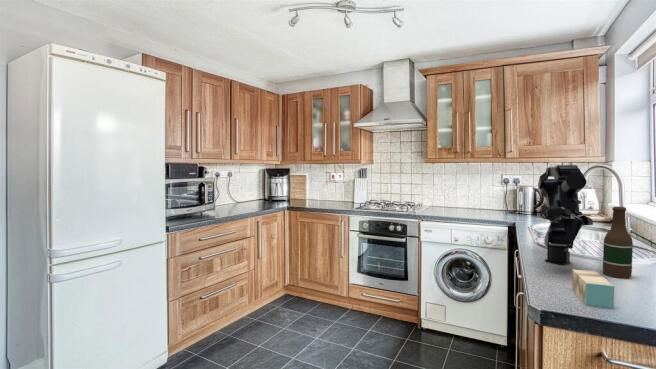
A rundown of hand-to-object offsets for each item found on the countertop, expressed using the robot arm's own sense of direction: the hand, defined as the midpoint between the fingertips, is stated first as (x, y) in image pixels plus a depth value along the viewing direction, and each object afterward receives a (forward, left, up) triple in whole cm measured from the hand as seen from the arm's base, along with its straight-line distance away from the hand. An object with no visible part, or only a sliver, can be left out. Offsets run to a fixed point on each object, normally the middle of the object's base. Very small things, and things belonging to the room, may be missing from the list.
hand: (571, 241), depth 116 cm
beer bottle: (+8, +14, -12) cm, 20 cm away
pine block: (+9, -12, -9) cm, 17 cm away
